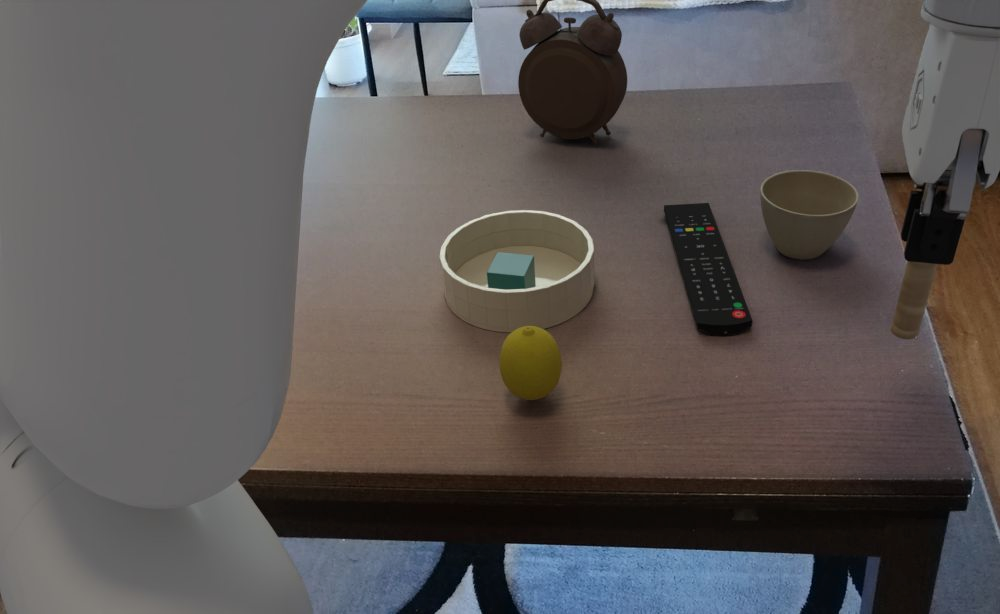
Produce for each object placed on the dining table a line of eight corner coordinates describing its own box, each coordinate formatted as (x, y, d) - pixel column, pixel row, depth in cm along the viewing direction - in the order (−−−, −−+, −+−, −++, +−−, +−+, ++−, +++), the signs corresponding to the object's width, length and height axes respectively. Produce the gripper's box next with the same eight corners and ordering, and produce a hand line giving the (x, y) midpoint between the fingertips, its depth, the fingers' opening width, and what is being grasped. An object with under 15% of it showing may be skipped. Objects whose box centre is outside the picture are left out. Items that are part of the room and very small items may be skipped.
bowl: (576, 341, 86) (575, 300, 84) (423, 323, 91) (417, 283, 88) (606, 254, 99) (606, 216, 96) (470, 241, 103) (466, 204, 100)
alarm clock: (631, 132, 124) (633, -11, 113) (614, 154, 119) (615, 6, 107) (537, 120, 130) (530, -18, 118) (517, 140, 125) (508, -2, 113)
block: (526, 308, 91) (524, 276, 88) (489, 304, 92) (486, 272, 89) (535, 286, 94) (534, 255, 91) (500, 282, 95) (497, 251, 92)
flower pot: (756, 271, 94) (764, 213, 90) (751, 224, 102) (757, 168, 98) (854, 274, 92) (866, 215, 88) (840, 226, 100) (851, 170, 96)
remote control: (707, 212, 105) (708, 202, 104) (752, 334, 85) (753, 323, 85) (663, 215, 105) (663, 205, 104) (697, 337, 86) (698, 326, 85)
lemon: (567, 380, 82) (565, 312, 77) (556, 421, 77) (553, 351, 73) (509, 375, 83) (504, 307, 78) (496, 414, 79) (489, 345, 74)
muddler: (919, 341, 67) (960, 190, 60) (891, 338, 68) (929, 188, 60) (916, 326, 69) (957, 177, 61) (889, 323, 69) (926, 175, 62)
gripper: (913, -41, 60) (865, 196, 71) (940, 34, 48) (876, 307, 59) (1035, -40, 58) (966, 203, 69) (1095, 39, 46) (1000, 320, 57)
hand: (925, 249), depth 64 cm, fingers closed on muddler, 2 cm apart
